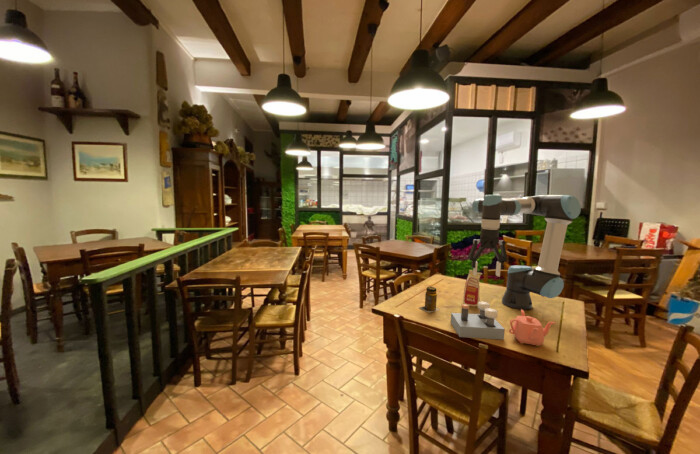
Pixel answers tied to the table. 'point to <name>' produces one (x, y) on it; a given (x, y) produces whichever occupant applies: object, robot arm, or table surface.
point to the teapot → (529, 329)
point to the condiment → (430, 300)
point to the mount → (476, 327)
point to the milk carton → (472, 289)
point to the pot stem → (464, 312)
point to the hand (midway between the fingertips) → (486, 275)
